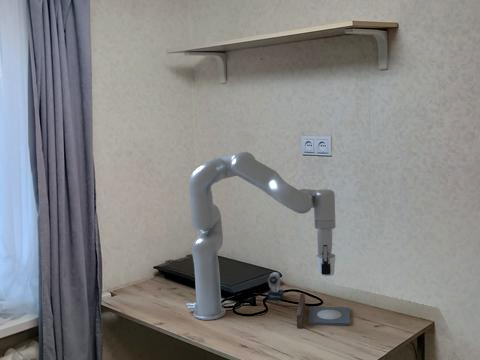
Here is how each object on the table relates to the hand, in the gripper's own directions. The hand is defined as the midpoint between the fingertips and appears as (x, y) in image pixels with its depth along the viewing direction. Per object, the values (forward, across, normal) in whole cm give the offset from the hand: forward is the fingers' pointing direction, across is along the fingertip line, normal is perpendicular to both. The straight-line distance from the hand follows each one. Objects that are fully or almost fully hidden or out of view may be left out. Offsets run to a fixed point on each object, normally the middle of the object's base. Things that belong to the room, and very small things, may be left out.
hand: (326, 270), depth 199 cm
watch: (+18, -18, -21) cm, 33 cm away
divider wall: (+18, 0, -10) cm, 20 cm away
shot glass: (+1, 0, 0) cm, 1 cm away
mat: (+18, 0, +1) cm, 18 cm away
